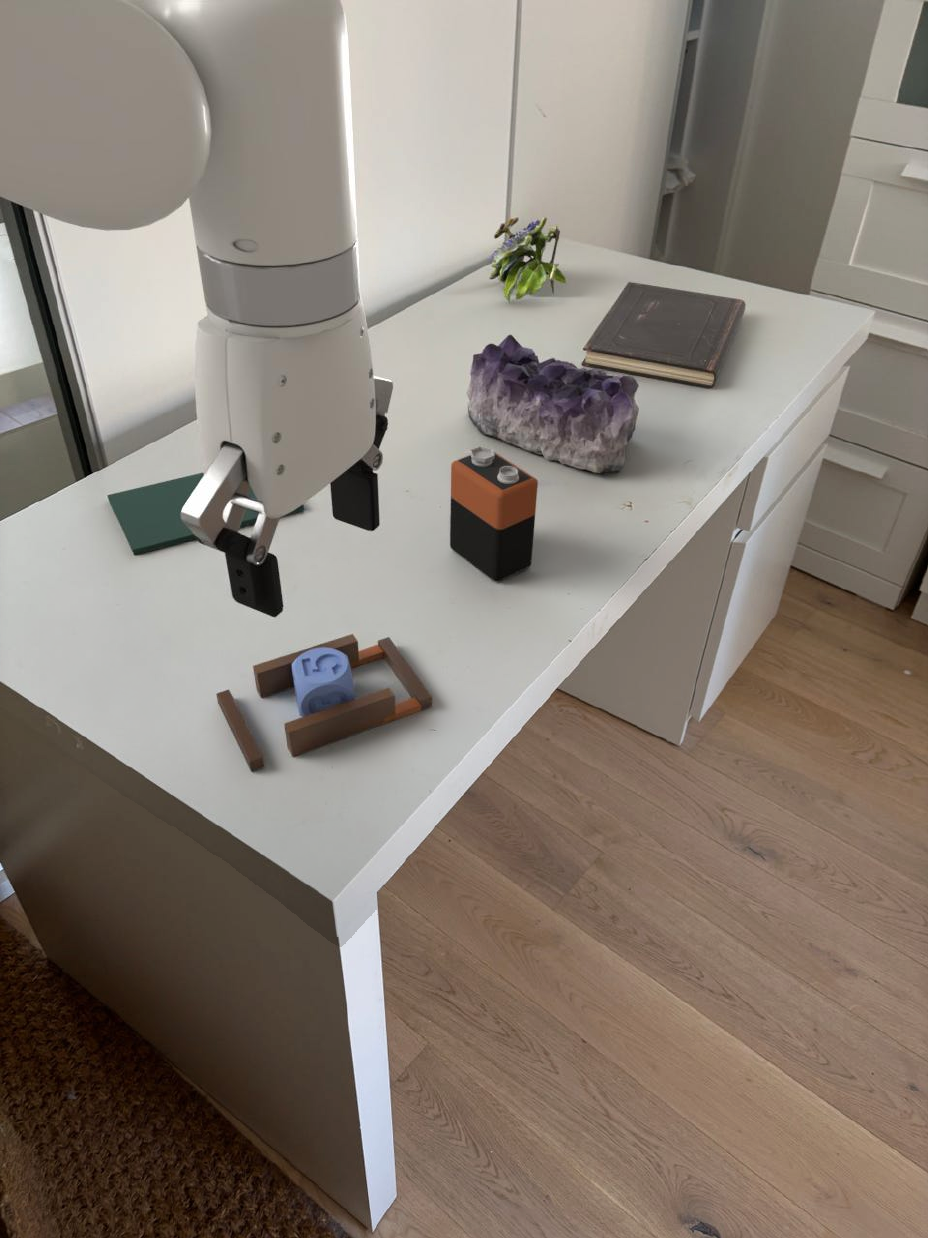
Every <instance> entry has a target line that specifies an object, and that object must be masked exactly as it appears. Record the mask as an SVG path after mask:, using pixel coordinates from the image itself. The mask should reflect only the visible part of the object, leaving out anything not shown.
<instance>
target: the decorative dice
mask: <svg viewBox="0 0 928 1238" xmlns="http://www.w3.org/2000/svg"><path fill="white" fill-rule="evenodd" d="M292 673H293V680H294V687H293V688H294V693H295V700H296V704H297V711H298V713H299V716H300V718H302V717H305V716H307V715H310V714H313V713H316V712H319V711H322V710H325V709H328V708H330V707H333V706H336V705H339V704H342V703H345V702H348V701H351V700H353V699H356V693H355V686H354V685H355V684H354V678H353V674H352V668H350V664H349V660H348V657H347V655H345V654H344V653H342V652H340V651H338V650H336V649H332V648H325V647H323V648H315V649H311V650H308V651H306V652H305V653H303V654H301V655H300V656H299V657H298V658H296V660H295V661H294V662H293V663H292Z"/></svg>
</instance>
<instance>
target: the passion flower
mask: <svg viewBox="0 0 928 1238" xmlns="http://www.w3.org/2000/svg"><path fill="white" fill-rule="evenodd" d="M547 220H548V217H545V216H543V217H542V220H539V219H537V220H536V221H531V222H530V223H529V224H528V225H527V227H524V228H523V229H521V231H518V232H516V233H515V234H513V233H512V232H511V230H510V229H511V228H512V227H513V226H514V225H515V224H517V223H518V222H519V217H515V218H513V217H511V218H509V219H508V221H506V222H503V223H501V224H500V226H499V228H498V229H497V231H495V232H494V234H493V235H494V237H493V238H494V239H498V238H500V237H501V236H502V235H503V234H507V235H508V236H509V237H508V239H507V240H506V241H503V242H502V244H501V246H500V247H499V248H496V250H494V251H493V252H492V254H491V256H490V257H491V259H490V260H488V262H490V263H488V265H491V267H492V268H494V270H493V271H492V272H491V273H490V275H489V277H488V279H489V280H495V279H496V278H497V279H498V280H499V282H502V283H505V284H504V288H503V294H504V298H505V299H506V300H507V301H508V303H509V304H510V303H511V299H512V295H513V294H514V292H515V299H516V300H520V299H523V297H526V295H534V294H536V293H537V292H539V290H540V289H541V288H542V287H543V286H544V284H545V282H546V280H547V276H548V278H549V279H548V280H549V281H550V287H551V292H552V294H554V293H555V281H557V282H558V283H562V284H566V283H567V280H566V277H565V275H564V274H563V272H562V271H561V270H560V269H559V268H558V267H560V266H561V264H560V263H554V262H555V258H556V252H557V247H558V243H559V239H560V233H561V231H560V229H559V228H558V225H557V224H553V226H552V227H551V228H549V229H548V230H547V231H548V232H547V233H543V232H542V231H543V229H544V228H545V225H546V223H547ZM553 239H554V245H553V249H552V255H551V260H550V261H549V262H545V261H544V260H543V254H544V253H545V250H546V247H547V244H548V243H550V242H552V240H553ZM533 246H535V250H534V248H533ZM525 257H527V258H529V259H528V260H527V261H524V260H525ZM515 290H516V291H515Z"/></svg>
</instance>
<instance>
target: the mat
mask: <svg viewBox="0 0 928 1238" xmlns="http://www.w3.org/2000/svg"><path fill="white" fill-rule="evenodd" d="M203 476H204V473H203V472H199V473H194V474H191V475H186V476H183V477H178V478H173V479H169V480H165V481H162V482H161V481H160V482H157V483H153V484H148V485H144V486H139V487H136V488H131V489H128V490H127V489H126V490H122V491H119V492H115V493H111V494H108V495H107V499H108V502H109V504H110V506H111V508H112V510H113V513H114V515H115V518H116V519H117V522H118V523H119V525H120V528H121V530H122V532H123V534H124V536H125V538H126V541H127V543H128V546H129V547H130V550H131V552H132V553H133V555H134V556H136V555H140V554H144V553H148V552H151V551H156V550H160V549H163V548H167V547H171V546H175V545H179V544H182V543H185V542H186V543H187V542H190V541H194V540H198V539H197V536H195V535H194V534H193V533H192V531H191V530H190V529H189V528H188V527H187V526H186V525H185V524H184V522H183V521H182V520H181V516H180V514H181V510H182V508H183V506H184V505H185V503H186V502H187V500H188V499H189V497H190V496H191V494H192V493H193V491H194V490H195V488H196V487H197V485H198V484H199V482H200V481H201V479H202V478H203ZM248 497H250V498H253V499H255V500H257V498H256V496H255V494H254V492H253V490H252V488H250V491H249V494H248ZM258 501H260V500H258ZM261 502H262V501H261ZM304 511H305V506H304V504H302V505H301V506H299V507H298V508H296V509H295V510H293V511H292V512H290V513H288V514H286V515H284V516H283V517H285V516H289V515H293V514H296V513H300V512H304ZM259 514H260V513H257V512H254V511H251V510H248V509H246V510H245V513H244V516H243V519H242V522H241V525H240V528H243V527H248V526H251V525H255V523H256V520H257V517H258V515H259Z"/></svg>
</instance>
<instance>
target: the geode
mask: <svg viewBox="0 0 928 1238" xmlns="http://www.w3.org/2000/svg"><path fill="white" fill-rule="evenodd" d="M639 387H640V384H639V382H638V381H637V380H636V378H635V377H633V376H632V375H622V374H614V375H609V374H607V373H606V372H605V371H604V370H602V369H598V368H591V369H587V368H584V367H580V368H578V366H576V365H575V364H574V363H573V362H569V361H564V360H559V359H555V358H554V357H550V358H549V359H546V360H544V361H541V362H540V360H539V357H538V355H536V353H535V351H534V350H533V349H532V348H529V347H526V346H525V347H524V346H522V344H520V343H519V341H518V340H517V339H516V338H515V337H514V336H513V334H508V335H506V337H505V338H504V339H503V340H502V341H501V342H500V343H499V344H498V345H496V344H494V343H488V344H486V345H485V347H484V349H482V351H481V353H475V354H473V355H472V362H471V368H470V381H469V385H468V387H467V389H466V396H467V399H468V400H469V402H467V413H468V418H469V419H470V421H471V423H472V424H473V426H474V427H476V429H477V430H478V431H479V432H480V434H482V435H486V436H489V437H492V438H495V439H497V440H500V441H503V442H505V443H509V444H512V445H514V446H516V447H518V448H521V449H523V450H525V451H527V452H530V453H533V454H534V455H542V456H543V458H544V459H545V460H547V461H557V462H559V463H560V464H562V465H567V466H569V467H572V468H576V469H578V470H586V471H589V472H592V473H595V474H602V473H604V472H607V473H608V474H617V473H619V472H621V471H622V469H623V468H624V465H625V462H626V461H625V460H626V456H627V455H626V454H627V452H626V449H627V446H628V443H629V442H630V440H631V439H632V437H633V433H634V432H635V430H636V424H637V419H638V415H639V411H640V408H639V406H638V404H637V401H636V399H635V397H636V393H637V391H638V389H639Z"/></svg>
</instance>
